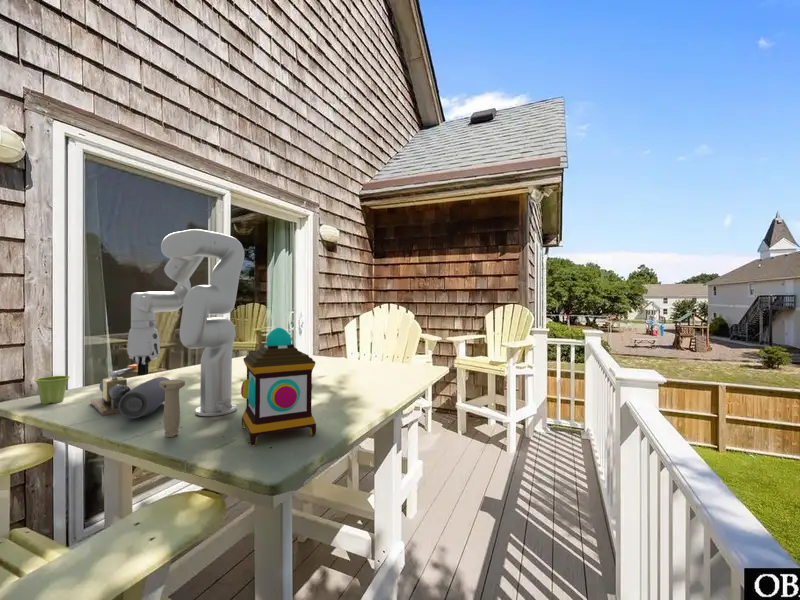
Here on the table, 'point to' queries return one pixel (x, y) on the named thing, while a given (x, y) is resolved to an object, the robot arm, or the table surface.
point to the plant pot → (52, 388)
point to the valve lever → (125, 370)
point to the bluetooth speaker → (142, 399)
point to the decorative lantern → (277, 388)
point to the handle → (171, 406)
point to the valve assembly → (110, 395)
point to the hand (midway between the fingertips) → (143, 374)
